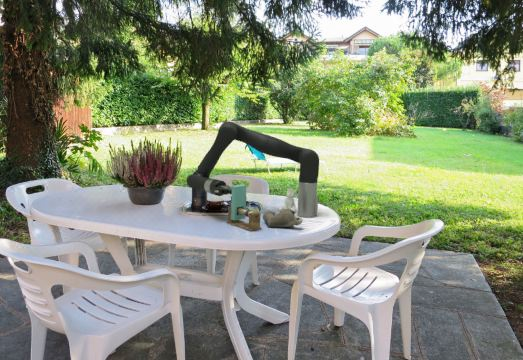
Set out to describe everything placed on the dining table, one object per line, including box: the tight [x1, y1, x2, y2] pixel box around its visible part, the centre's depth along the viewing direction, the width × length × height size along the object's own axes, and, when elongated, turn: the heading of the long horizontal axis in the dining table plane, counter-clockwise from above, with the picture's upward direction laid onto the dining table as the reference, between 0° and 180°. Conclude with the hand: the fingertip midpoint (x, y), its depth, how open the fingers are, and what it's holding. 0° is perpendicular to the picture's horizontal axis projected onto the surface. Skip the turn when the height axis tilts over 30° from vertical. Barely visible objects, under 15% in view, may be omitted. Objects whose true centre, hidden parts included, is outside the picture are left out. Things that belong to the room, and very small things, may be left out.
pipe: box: [262, 208, 304, 228], centre depth 212 cm, size 16×9×15 cm
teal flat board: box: [230, 184, 247, 221], centre depth 212 cm, size 2×6×16 cm, turn 131°
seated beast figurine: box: [277, 188, 298, 213], centre depth 240 cm, size 10×9×12 cm
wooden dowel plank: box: [226, 205, 262, 233], centre depth 210 cm, size 18×6×8 cm, turn 41°
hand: (237, 192), depth 212 cm, fingers closed
